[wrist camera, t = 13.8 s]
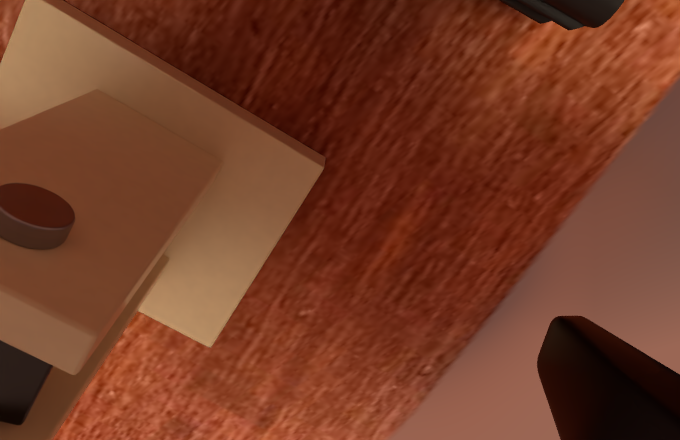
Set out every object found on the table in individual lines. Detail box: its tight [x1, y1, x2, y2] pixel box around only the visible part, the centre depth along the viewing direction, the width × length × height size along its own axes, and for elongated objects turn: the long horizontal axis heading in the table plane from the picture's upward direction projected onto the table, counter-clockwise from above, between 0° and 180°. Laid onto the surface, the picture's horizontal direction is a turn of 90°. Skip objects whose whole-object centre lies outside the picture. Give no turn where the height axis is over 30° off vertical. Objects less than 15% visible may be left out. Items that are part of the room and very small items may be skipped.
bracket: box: [0, 0, 326, 440], centre depth 15 cm, size 10×8×11 cm
